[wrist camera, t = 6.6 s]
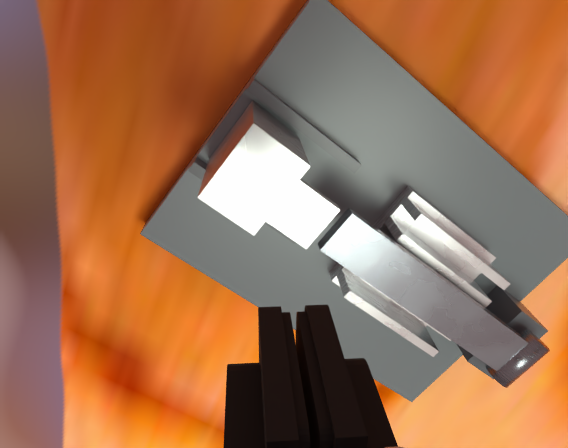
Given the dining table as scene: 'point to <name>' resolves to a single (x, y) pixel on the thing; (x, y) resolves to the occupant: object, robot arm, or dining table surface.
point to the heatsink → (429, 249)
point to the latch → (265, 179)
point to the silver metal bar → (431, 297)
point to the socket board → (365, 193)
